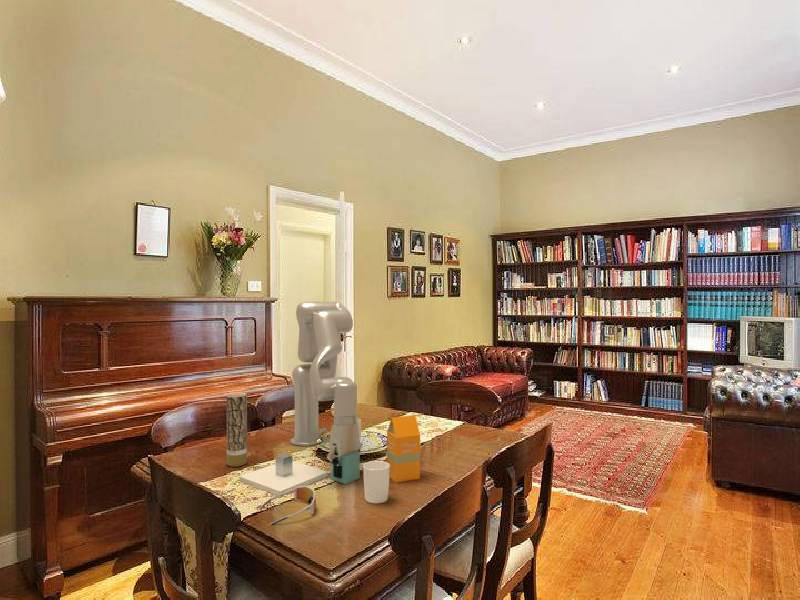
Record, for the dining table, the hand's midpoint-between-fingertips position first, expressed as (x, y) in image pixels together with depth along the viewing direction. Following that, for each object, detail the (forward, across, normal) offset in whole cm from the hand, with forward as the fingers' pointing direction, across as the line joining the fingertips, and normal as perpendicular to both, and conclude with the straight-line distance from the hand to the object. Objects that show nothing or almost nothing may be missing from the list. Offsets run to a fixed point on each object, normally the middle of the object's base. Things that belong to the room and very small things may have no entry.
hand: (345, 473), depth 160 cm
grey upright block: (0, +12, -16) cm, 20 cm away
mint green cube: (+2, 0, 0) cm, 2 cm away
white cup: (+2, +6, +18) cm, 19 cm away
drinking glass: (+2, -14, -10) cm, 17 cm away
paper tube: (+2, +13, -40) cm, 42 cm away
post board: (+2, +12, -16) cm, 20 cm away
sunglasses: (+2, +27, +4) cm, 27 cm away
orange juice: (+2, -13, +14) cm, 19 cm away
